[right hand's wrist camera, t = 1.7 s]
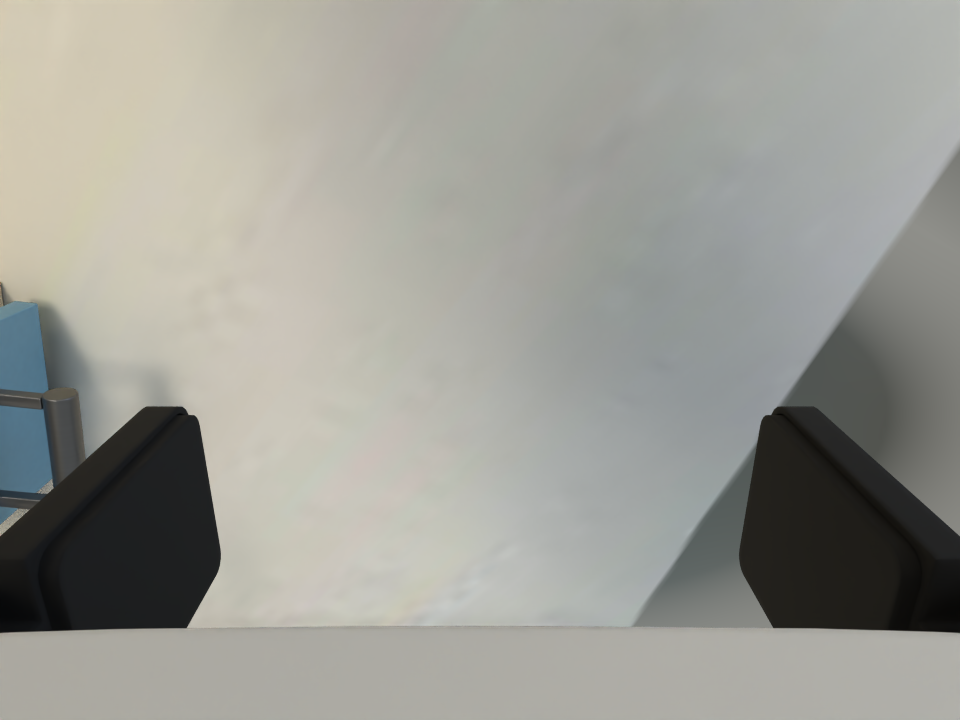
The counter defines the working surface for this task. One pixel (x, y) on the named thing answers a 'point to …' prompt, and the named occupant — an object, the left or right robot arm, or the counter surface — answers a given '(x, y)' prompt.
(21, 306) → the drawer
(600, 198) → the counter surface
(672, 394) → the counter surface
